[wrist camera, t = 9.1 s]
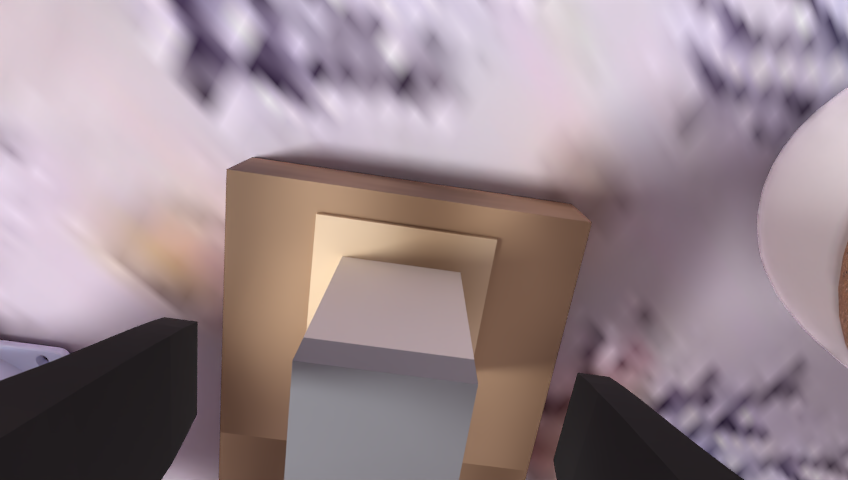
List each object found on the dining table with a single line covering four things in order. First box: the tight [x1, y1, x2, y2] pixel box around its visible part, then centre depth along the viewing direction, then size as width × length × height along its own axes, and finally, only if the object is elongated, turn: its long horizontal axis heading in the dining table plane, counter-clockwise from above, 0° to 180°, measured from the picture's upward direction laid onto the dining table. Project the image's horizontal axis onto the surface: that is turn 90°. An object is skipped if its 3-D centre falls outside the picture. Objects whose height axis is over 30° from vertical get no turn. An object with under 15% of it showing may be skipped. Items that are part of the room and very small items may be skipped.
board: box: [219, 157, 592, 480], centre depth 20 cm, size 12×18×3 cm, turn 172°
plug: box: [284, 256, 478, 480], centre depth 15 cm, size 4×4×6 cm
